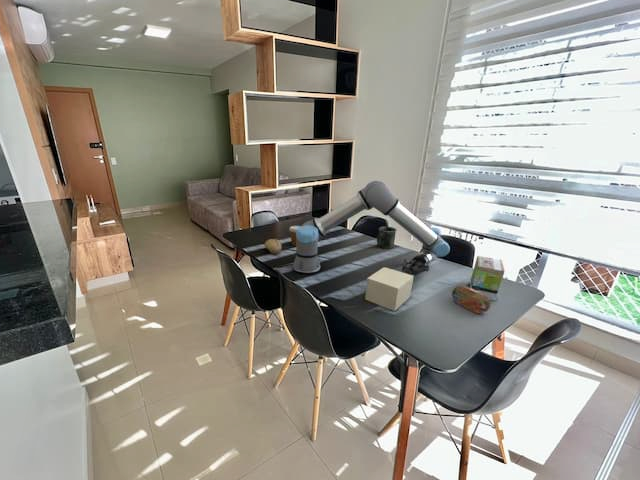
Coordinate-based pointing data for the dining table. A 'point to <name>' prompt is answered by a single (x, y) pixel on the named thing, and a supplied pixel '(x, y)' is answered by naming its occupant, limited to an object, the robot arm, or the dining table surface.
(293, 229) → the disposable coffee cup
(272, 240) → the bread roll
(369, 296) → the cream foam cube
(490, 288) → the tea box
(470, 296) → the orange brown snack packet
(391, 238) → the mug
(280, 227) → the dining table surface
